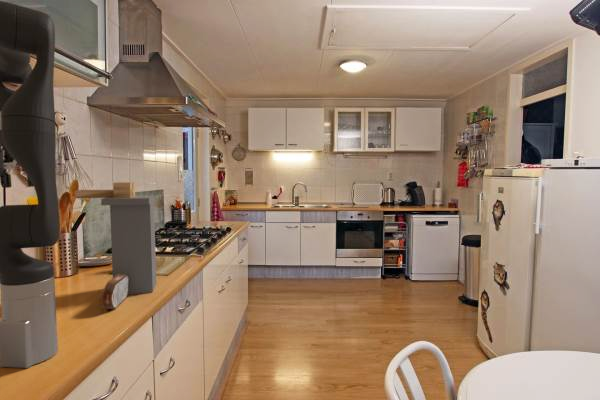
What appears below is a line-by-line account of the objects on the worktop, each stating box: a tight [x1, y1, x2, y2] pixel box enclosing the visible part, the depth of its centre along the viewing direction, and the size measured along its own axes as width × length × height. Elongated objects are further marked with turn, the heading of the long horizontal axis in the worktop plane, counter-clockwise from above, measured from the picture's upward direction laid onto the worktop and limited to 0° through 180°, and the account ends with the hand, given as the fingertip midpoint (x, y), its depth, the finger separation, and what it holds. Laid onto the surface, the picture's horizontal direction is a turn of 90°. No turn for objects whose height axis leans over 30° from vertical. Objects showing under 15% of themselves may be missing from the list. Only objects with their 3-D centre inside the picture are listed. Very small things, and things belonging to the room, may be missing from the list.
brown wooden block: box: [74, 181, 136, 199], centre depth 117 cm, size 8×17×5 cm, turn 106°
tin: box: [101, 274, 129, 310], centre depth 108 cm, size 15×3×8 cm, turn 8°
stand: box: [100, 195, 157, 295], centre depth 120 cm, size 14×14×32 cm
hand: (20, 187), depth 100 cm, fingers open, 8 cm apart
